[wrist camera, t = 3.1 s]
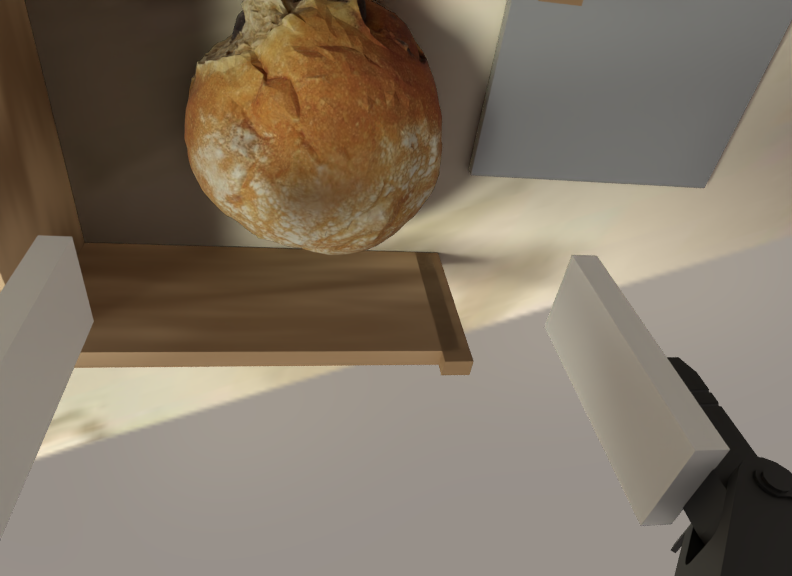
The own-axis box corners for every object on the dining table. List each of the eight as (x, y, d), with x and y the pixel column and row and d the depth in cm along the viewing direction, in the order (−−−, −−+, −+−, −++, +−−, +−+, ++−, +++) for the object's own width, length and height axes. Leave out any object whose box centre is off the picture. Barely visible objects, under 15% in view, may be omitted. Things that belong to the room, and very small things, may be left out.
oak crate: (-42, -149, 17) (-214, -133, 11) (507, -72, 20) (592, -28, 15) (69, 256, 26) (5, 380, 21) (435, 265, 30) (469, 374, 24)
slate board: (543, -158, 19) (548, -157, 19) (845, -106, 21) (856, -104, 21) (468, 170, 26) (470, 175, 26) (698, 183, 29) (704, 188, 28)
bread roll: (203, 132, 27) (182, 282, 24) (184, -80, 18) (146, 111, 15) (403, 157, 30) (411, 298, 26) (473, -21, 21) (499, 157, 17)
